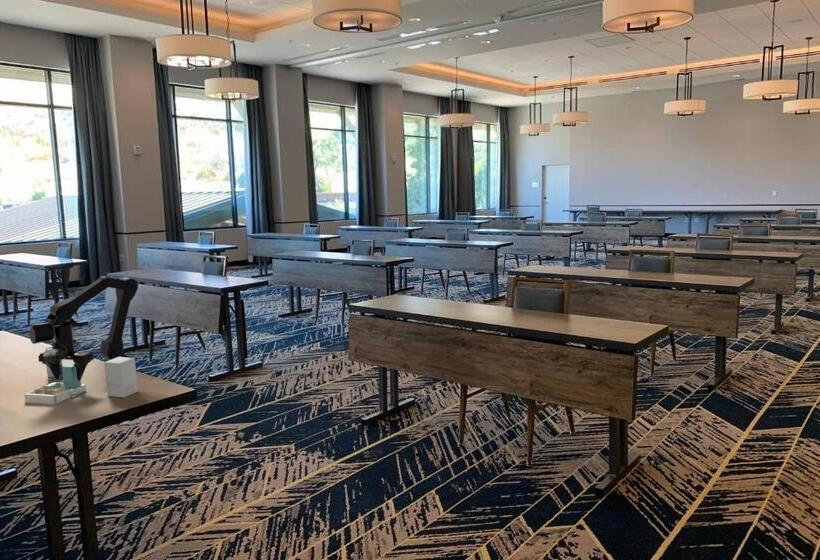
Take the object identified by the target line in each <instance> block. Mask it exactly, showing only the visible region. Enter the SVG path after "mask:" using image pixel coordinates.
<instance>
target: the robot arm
mask: <svg viewBox="0 0 820 560" xmlns="http://www.w3.org/2000/svg"><path fill="white" fill-rule="evenodd" d="M108 288H110V289H115V295H116V303H115V308H114V311H113V316H112V320H111V325H110V329H109V334H108V336H107V338H106V339H101V341H100V343H101V344H100V348H99V349H98V350H99V351H100V356H102V358H104V360H106V361H109V360H112V359H114V358H117V357H127V358H130V357H129V356H128V355H126V354H125V353H124V343H123V342H124V341H123V335H124V330H125V326H126V322H127V317H128V313H129V309H130V304H131V301H132V300H133V299H134V297H135V296H136V294H137V292H138V289H139V282H138V281H137V280H136V279H135V278H131V277H125V276H124V277H120V278H116V277H110V276H104V275H101V276H100V277H99V278H97V280H96V279H95V281H93V282H92V283H90V284H89V285H87V286H86V287H84V288H83V289H81V290H80V291H79V292H77V293H75V294H74V295H73V296H71V297H69V298H66V299H63V300H60V301H58V302H56V303H54V304H52V305H51V307H50V311H49V313H48V315H47V317H46V318H45V320H44V322H42V323H33V324H30V330H29V333H28V334H29V339H30V342H31V344H32V345H35V344H40V343H46V342H47V343H48V342H51V341H52V340H53V339H54V342H52V344H51V345H52V346H51V347H52V349H50V350H48V351H46V352H45V351H43V352H40V353H39V355H38V362H40V363H42V365H45V366H46V365H47V366H48V367H49V368H50V370H51V371H52V373H53V375H54V377H55V379H56V380H60V379H59V372H60V360H62V361H63V360H69V361H72V364H73V365H74V366H75V367H76V373H77V379H78V381H80V380H82V378H83V375H84V374H85V370H86V368H87V366H88V365H89V363H91V362H92V361H94V354H93V353H92V352H89V351H88V352H87V351H86V352H85V351H81V352H79V353H78V350H77V349H75V345H74V343H77V340H76V338H75V339H74V333H73V326H75V325H78V324H79V322H78V321H76V320H74V318H73V317H74V316H75V314H77V313H78V312H79V309H80V308H81V307H83V305H85V304H86V303H87V302H89V301H90V300H92V299H94V298H95V297H97V295H99V294H101V293H102V292H103V291H105V290H106V289H108ZM106 361H105V362H106ZM47 366H46V367H47ZM56 380H55V381H56Z"/></svg>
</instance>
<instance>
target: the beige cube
mask: <svg viewBox="0 0 820 560" xmlns="http://www.w3.org/2000/svg"><path fill="white" fill-rule="evenodd" d="M63 391H65V387H58V386H55V387H53V388H50V389H48V390H47V395H57V394H59V393H61V392H63Z"/></svg>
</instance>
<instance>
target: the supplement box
mask: <svg viewBox="0 0 820 560" xmlns="http://www.w3.org/2000/svg"><path fill="white" fill-rule="evenodd" d="M103 363H104V372H105V381H106V383H105V384H106V393H107V397H114V398H126V397H128V396H130V395H133V394H135V393H137V392H138V390H139V388H138V379H137V370H136V358H134V357H129V358H127V357H117V358H114V359H112V360H109V361H105V362H103Z"/></svg>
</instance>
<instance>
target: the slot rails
mask: <svg viewBox="0 0 820 560" xmlns="http://www.w3.org/2000/svg"><path fill="white" fill-rule="evenodd" d="M54 383H56V382H52V383H49V384H48V385H46V386H50V385H52V384H54ZM86 386H87V385H86V384H85V383H81V385H80V386H77V387H75V388H73V389H71V390H69V394H70V397H72V398H74V397H77V396H79V395H81V394H82V392H83V393H84V391H85V392H86V391H87V388H86ZM80 393H81V394H80ZM73 396H74V397H73Z"/></svg>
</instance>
